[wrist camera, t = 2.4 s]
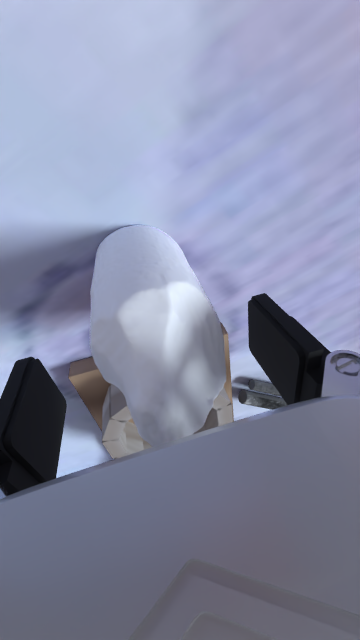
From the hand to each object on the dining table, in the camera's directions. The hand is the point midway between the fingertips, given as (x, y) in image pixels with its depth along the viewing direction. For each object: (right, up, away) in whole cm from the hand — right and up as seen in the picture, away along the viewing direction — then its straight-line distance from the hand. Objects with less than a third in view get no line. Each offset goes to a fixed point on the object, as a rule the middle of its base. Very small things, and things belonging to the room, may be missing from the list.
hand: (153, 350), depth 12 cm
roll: (-1, +5, +6) cm, 7 cm away
